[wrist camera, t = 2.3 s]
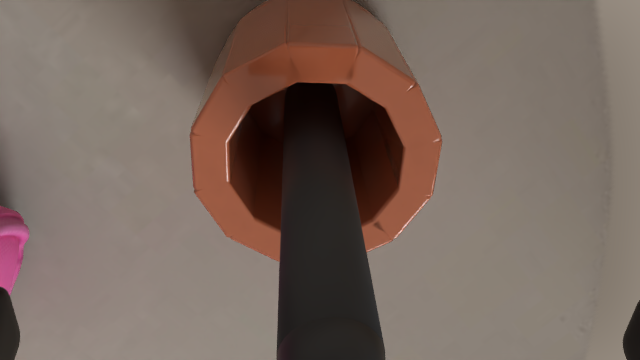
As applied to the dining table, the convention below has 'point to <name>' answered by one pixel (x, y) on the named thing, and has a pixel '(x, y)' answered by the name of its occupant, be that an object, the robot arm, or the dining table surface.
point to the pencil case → (11, 246)
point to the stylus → (322, 239)
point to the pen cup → (268, 120)
